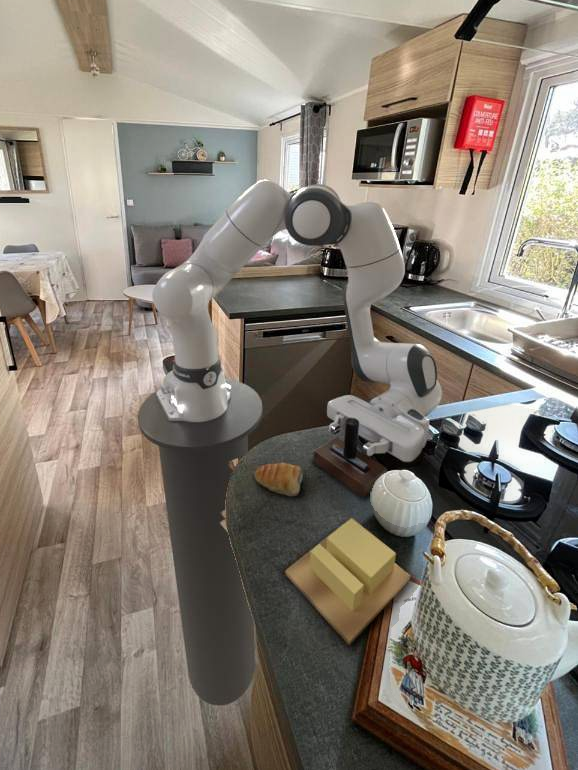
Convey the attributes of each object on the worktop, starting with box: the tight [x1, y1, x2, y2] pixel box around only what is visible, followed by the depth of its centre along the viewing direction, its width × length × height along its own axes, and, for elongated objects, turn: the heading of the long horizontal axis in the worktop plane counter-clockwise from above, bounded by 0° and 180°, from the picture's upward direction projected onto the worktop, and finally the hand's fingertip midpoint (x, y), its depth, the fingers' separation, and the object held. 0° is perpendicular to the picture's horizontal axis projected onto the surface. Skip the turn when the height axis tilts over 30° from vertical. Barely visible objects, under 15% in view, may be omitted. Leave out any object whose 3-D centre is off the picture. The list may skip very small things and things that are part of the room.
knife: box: [332, 418, 368, 473], centre depth 75 cm, size 8×2×12 cm, turn 37°
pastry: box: [253, 461, 304, 497], centre depth 75 cm, size 9×7×4 cm
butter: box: [326, 517, 397, 595], centre depth 58 cm, size 8×6×4 cm
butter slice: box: [309, 543, 364, 612], centre depth 55 cm, size 8×2×4 cm, turn 37°
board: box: [284, 522, 411, 646], centre depth 57 cm, size 12×14×1 cm
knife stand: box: [313, 436, 388, 499], centre depth 77 cm, size 12×7×3 cm, turn 37°
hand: (347, 440), depth 74 cm, fingers open, 7 cm apart
